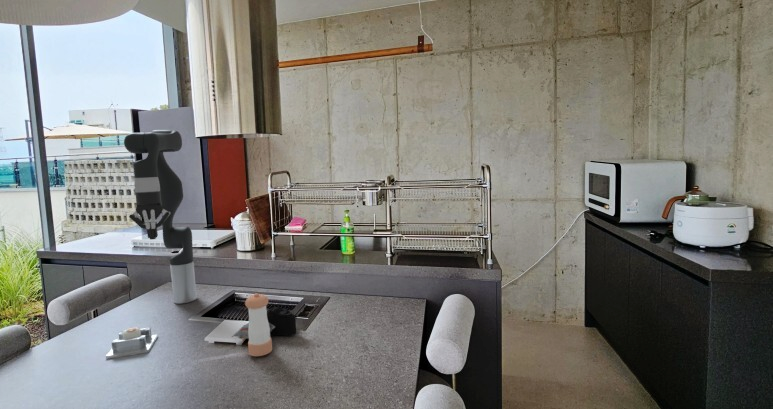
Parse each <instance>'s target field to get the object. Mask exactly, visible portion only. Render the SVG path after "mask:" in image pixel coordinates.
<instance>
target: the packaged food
mask: <svg viewBox="0 0 773 409" xmlns="http://www.w3.org/2000/svg"><path fill="white" fill-rule="evenodd" d="M268 323H269V322H268ZM269 327H270V332H271V331H272V330H273V329H274V328H275V326H274V325H272V324H271V323H269ZM248 329H249V322H248V323H245V324H244V325H242V327H240V328H239V329H238V331H236V332H235V333H234V334H232V335H231V337H237V338H238V339H243V340H244V339H247V340H249V335H248Z"/></svg>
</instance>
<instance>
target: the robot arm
mask: <svg viewBox="0 0 773 409" xmlns="http://www.w3.org/2000/svg"><path fill="white" fill-rule="evenodd" d="M123 145H124V147H125V150H127V151H128V152H130V153H132V154H147V156H146V158H144V159H140V160H136V161H134V162H133V164H132V165H133V166H132V167H133V175H134V193H135V202H136V208H135V211H133V213H131V214H129V218H130V220H132V221H133V222H134V223H135V224H136V225H137V226H138V227H139V228H141V229H146V231H147V238H148V239H149V240H150V241H151V240H156V239H157V238H158V228H160V227H162V239H163V246H164V247H165V248H166V249H169V250H170V249H182V251H181V252H180V253H177V254H175V255H173V256H171V257H170V258H169V267H170V276H171V277H170V278H171V286H172V287H171V289H172V296H173V298H172V299H173V303H174V304H179V305H180V304H187V303H191V302H194V301H195V300H197V299H198V298H197V296H198V295H197V286H196V277H195V276H196V274H195V263H194V249H193V233H192V230H191V228H190V227H189V226H178V227H177V226H174V227H173V220H174V216H175V214H176V213H177V210H178V208H179V207H180V206H181V203H182V202H183V199H184V189H183V182H182V181H181V179H180V177H179V176H178V174H177V173H176V172H175V171H174V170H173V169H172V168H171V166H170V165H169V163H168V162H167V160H166V158H165V156H164V153H174V152H179V151H180V150H181V149H182V147H183V139H182V135H181V134H180V132H179V131H177V130H174V129H155V130H154V129H153V130H152V131H151V132H130V133H128V134H126V135H125V137H124V140H123ZM160 215H161V219H159V221H158V218H159V217H160ZM139 216H140V217H139ZM140 218H142V219H143V220H141V219H140Z"/></svg>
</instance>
